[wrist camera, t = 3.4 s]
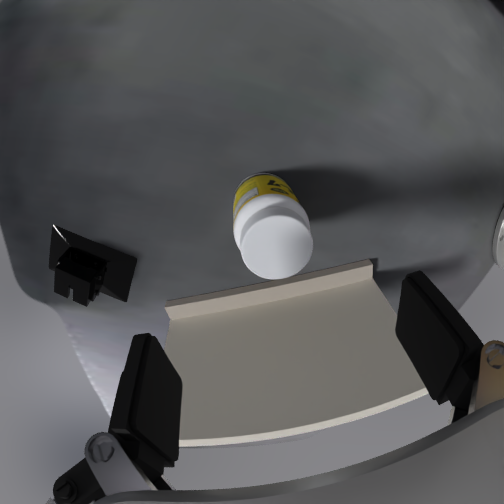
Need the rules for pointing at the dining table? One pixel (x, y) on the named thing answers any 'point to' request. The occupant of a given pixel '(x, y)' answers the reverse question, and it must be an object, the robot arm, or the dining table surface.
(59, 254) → the black phone stand
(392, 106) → the dining table surface
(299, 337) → the screen
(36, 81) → the dining table surface
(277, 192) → the supplement bottle
